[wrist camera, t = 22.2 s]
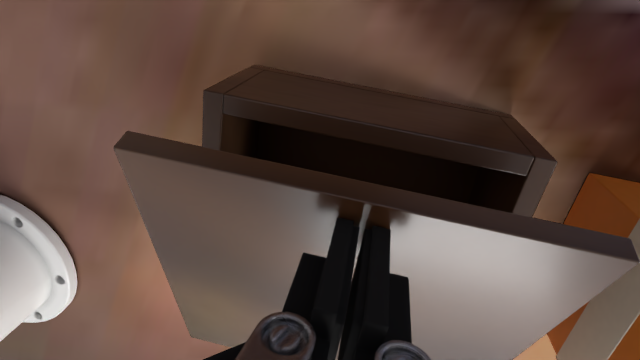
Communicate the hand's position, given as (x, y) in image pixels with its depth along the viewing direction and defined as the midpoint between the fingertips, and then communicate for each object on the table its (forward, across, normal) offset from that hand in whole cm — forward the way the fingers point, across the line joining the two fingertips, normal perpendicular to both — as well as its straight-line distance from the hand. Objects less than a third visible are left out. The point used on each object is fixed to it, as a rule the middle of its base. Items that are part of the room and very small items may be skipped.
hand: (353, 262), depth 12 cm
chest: (+13, 0, +4) cm, 13 cm away
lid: (+3, 0, +4) cm, 5 cm away
